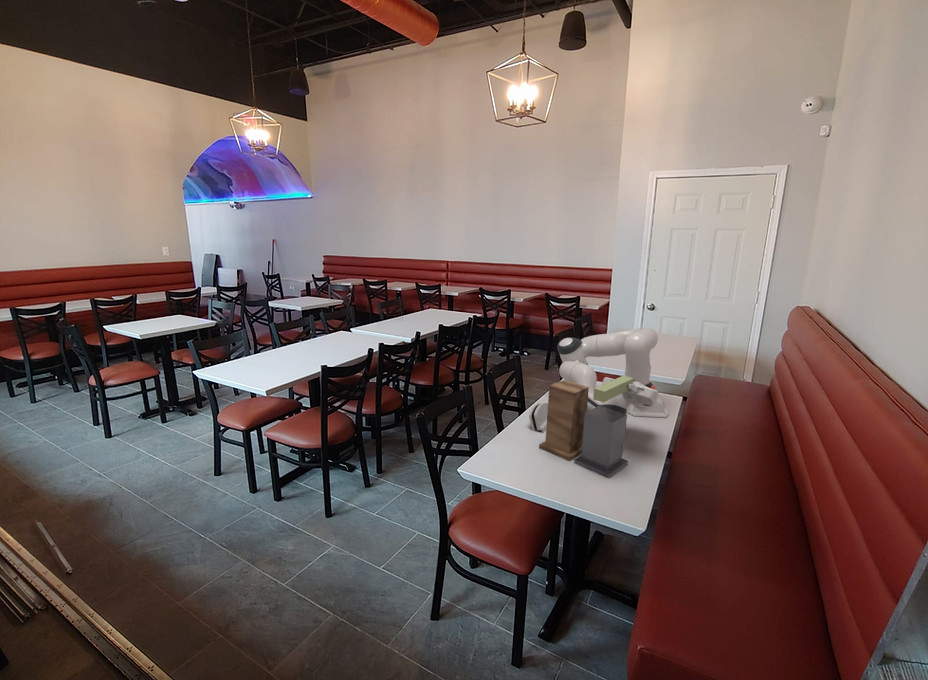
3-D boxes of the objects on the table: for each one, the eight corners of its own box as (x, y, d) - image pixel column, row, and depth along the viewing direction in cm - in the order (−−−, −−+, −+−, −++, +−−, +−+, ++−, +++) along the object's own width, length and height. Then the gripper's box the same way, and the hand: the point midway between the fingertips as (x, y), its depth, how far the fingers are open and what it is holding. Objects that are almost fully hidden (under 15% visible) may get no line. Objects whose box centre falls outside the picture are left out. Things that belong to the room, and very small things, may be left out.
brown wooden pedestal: (559, 436, 186) (563, 377, 179) (589, 448, 176) (595, 386, 170) (539, 447, 176) (542, 385, 170) (569, 461, 166) (574, 395, 160)
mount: (593, 450, 175) (598, 403, 170) (627, 464, 165) (633, 414, 160) (574, 463, 165) (578, 413, 160) (608, 478, 155) (614, 425, 150)
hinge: (543, 433, 189) (536, 411, 188) (533, 434, 191) (526, 412, 190) (555, 419, 203) (549, 398, 202) (546, 420, 205) (540, 399, 205)
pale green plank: (622, 385, 170) (623, 375, 169) (632, 388, 168) (633, 378, 166) (593, 399, 156) (594, 388, 155) (603, 402, 153) (604, 391, 152)
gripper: (613, 379, 183) (599, 369, 173) (663, 392, 168) (651, 382, 158) (607, 393, 182) (593, 384, 172) (657, 408, 167) (645, 399, 158)
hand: (621, 383), depth 165 cm, fingers closed on pale green plank, 4 cm apart
